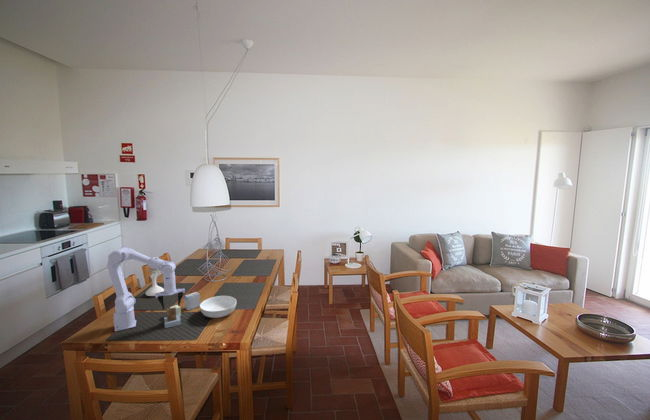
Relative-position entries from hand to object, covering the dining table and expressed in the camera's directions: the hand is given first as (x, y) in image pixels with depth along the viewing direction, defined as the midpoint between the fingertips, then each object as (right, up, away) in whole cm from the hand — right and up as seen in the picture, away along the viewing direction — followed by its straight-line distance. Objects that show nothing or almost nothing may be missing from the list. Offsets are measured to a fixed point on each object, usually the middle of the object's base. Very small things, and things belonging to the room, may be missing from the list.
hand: (171, 306), depth 166 cm
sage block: (-2, -8, +10) cm, 13 cm away
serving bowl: (+22, -8, +13) cm, 27 cm away
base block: (0, -10, +2) cm, 10 cm away
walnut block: (0, -7, +1) cm, 7 cm away
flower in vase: (-31, -4, +40) cm, 51 cm away
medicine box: (+3, -7, +20) cm, 22 cm away
